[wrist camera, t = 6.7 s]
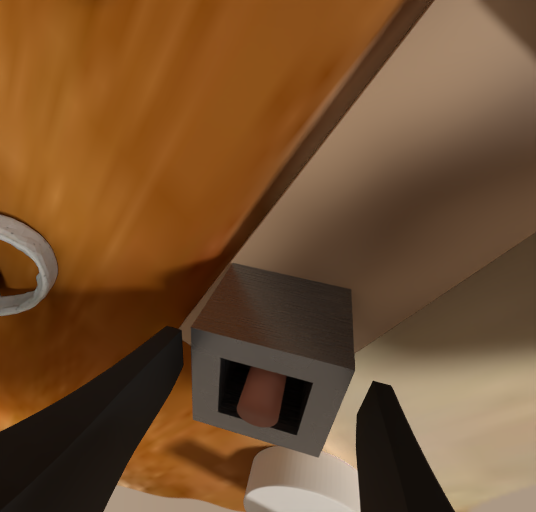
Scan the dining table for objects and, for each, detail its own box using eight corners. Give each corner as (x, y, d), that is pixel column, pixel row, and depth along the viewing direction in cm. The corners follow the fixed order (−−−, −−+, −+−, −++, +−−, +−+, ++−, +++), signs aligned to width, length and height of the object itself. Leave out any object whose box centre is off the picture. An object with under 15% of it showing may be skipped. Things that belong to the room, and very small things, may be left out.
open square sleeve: (351, 289, 12) (354, 370, 8) (324, 370, 14) (318, 457, 11) (232, 262, 12) (190, 327, 9) (227, 344, 15) (192, 419, 11)
